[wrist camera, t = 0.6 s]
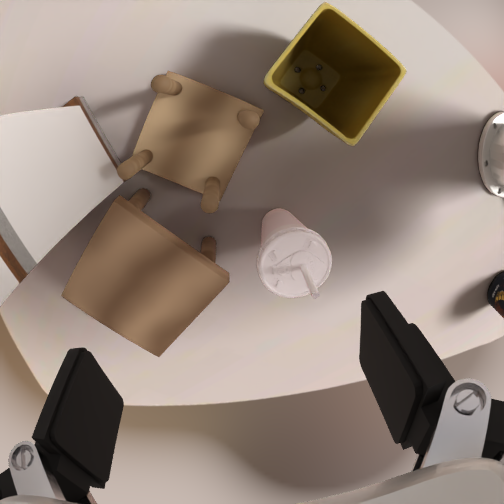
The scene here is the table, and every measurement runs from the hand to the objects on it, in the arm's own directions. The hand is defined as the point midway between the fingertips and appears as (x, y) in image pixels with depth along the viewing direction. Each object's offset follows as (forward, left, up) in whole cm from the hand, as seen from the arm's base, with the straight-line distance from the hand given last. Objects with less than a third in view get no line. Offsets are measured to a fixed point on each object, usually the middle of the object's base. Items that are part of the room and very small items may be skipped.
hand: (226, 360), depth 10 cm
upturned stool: (+5, -2, -25) cm, 25 cm away
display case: (+15, +9, -25) cm, 31 cm away
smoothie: (-8, 0, -25) cm, 26 cm away
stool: (+1, +11, -25) cm, 27 cm away
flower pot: (0, -14, -25) cm, 29 cm away
